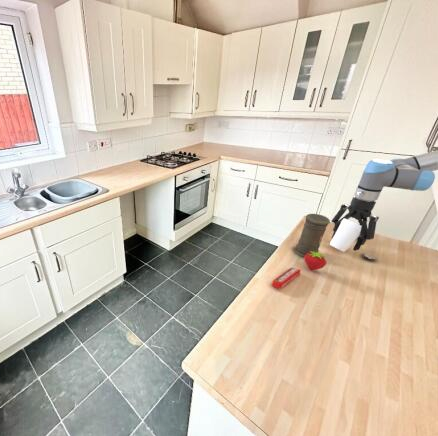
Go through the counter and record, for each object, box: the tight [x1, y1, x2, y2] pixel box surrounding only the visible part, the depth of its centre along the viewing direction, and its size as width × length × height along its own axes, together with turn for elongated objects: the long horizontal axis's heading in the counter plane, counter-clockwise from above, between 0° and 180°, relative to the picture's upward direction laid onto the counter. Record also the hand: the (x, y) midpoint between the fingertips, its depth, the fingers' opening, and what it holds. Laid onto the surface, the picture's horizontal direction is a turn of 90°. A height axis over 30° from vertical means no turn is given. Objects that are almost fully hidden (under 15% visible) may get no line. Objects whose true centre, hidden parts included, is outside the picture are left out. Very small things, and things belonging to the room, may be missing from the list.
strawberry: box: [303, 251, 327, 272], centre depth 97 cm, size 6×8×10 cm
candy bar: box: [270, 267, 301, 289], centre depth 94 cm, size 16×4×3 cm, turn 124°
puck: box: [362, 253, 377, 262], centre depth 105 cm, size 4×4×1 cm
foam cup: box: [329, 218, 362, 253], centre depth 107 cm, size 10×9×13 cm
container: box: [294, 213, 331, 258], centre depth 105 cm, size 9×9×18 cm
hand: (344, 243), depth 110 cm, fingers closed on foam cup, 9 cm apart
